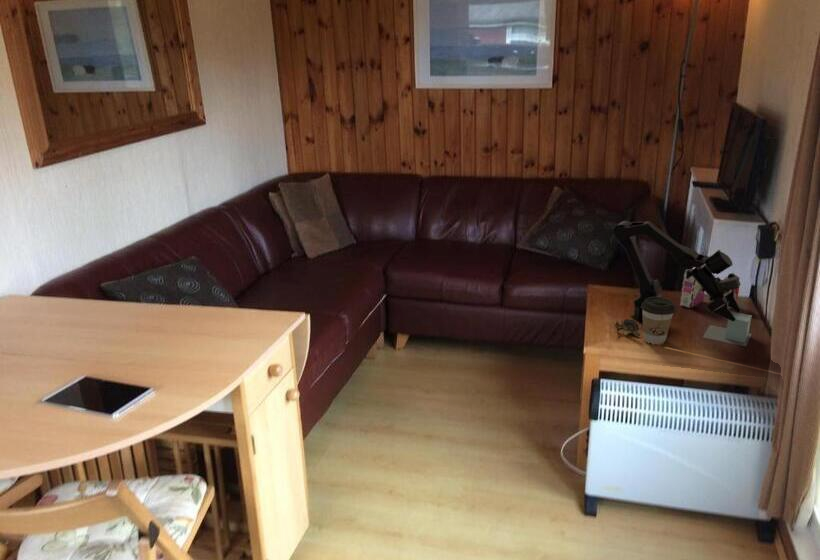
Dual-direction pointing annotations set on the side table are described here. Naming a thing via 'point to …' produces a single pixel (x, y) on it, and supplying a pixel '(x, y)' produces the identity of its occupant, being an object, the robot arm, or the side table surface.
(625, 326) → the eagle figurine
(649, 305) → the coffee cup
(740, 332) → the block
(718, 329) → the mat
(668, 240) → the robot arm
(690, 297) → the candy bar box
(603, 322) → the side table surface
